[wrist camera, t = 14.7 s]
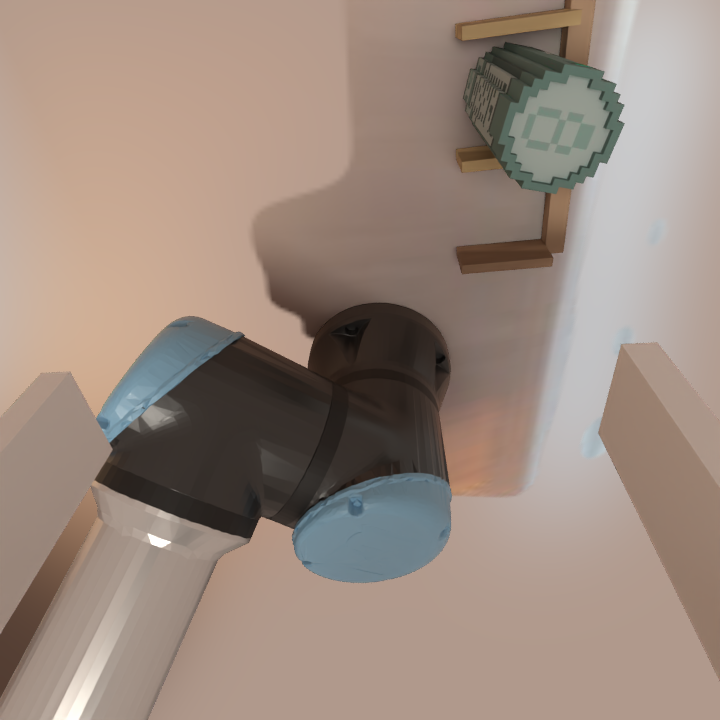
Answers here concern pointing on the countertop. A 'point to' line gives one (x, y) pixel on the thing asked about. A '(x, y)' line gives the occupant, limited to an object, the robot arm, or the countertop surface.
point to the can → (543, 116)
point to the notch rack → (508, 254)
